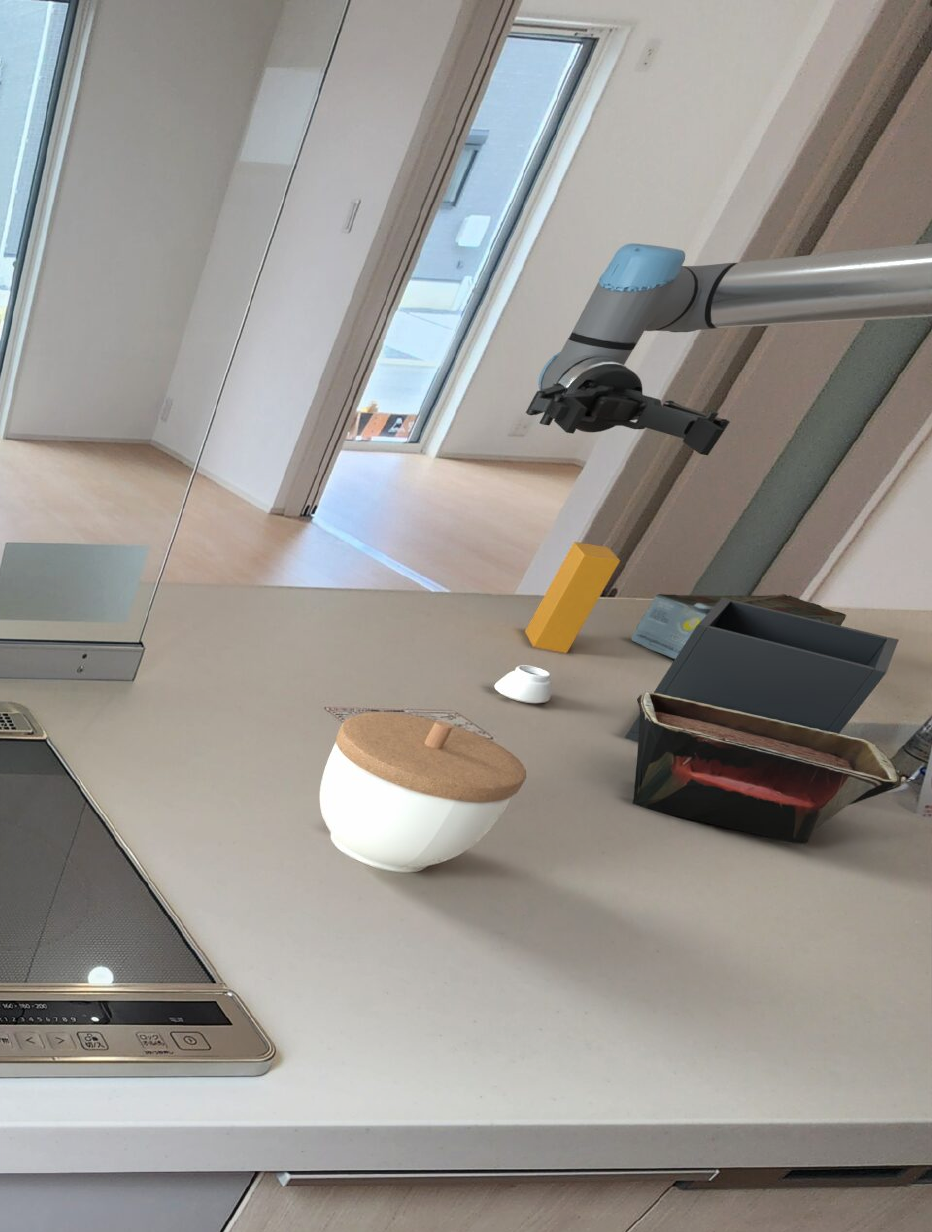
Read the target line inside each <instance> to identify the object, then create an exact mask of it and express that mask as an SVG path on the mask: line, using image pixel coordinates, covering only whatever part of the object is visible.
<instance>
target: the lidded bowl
mask: <svg viewBox="0 0 932 1232" xmlns="http://www.w3.org/2000/svg"><path fill="white" fill-rule="evenodd" d="M526 779H527V770H526V768H525V766H524V764H523V763H522V761H521V760H520V759H519V758H518V757H517V756H515V755H514V754H513V753H512V752H511V751H509V750H508V749H506V748H505V747H504V746H502V745H500V744H498V743H496V742H494V741H493V740H491V739H488V738H487V737H484V736H483V735H480V734H478V733H476V732H473V731H470V730H468V729H466V728H462V727H460V726H457V725H454V724H452V723H450V722H447V721H445V720H436V719H432V718H428V717H422V716H418V715H411V714H405V713H397V712H367V713H359V714H356V715H354V716H353V715H352V716H351V717H348V718H347V719H346V720H344V721H343V723H341V724H340V727H339V729H338V731H337V733H336V737H335V743H334V745H333V746H332V748H331V751H330V753H329V756H328V758H327V760H326V764H325V766H324V771H323V773H322V777H321V780H320V781H321V782H320V786H319V808H320V812H321V813H320V814H321V816H322V818H323V821H324V823H325V825H326V827H327V829H328V831H329V833H330V840H331V842H332V844H333V845H334V846H335V848H337V849H338V850H339V851H340V852H342V853H343V854H345V855H346V856H348V857H350V858H351V859H353V860H355V861H357V862H359V863H361V864H364V865H367V866H369V867H372V868H375V869H378V870H381V871H386V872H392V873H405V874H410V873H417V872H421V871H423V870H425V869H426V868H427V867H429V866H434V865H438V864H441V863H444V862H447V861H449V860H451V859H454V858H456V857H458V856H460V855H461V854H464V853H465V852H466V851H467V850H469V849H470V848H472V847H473V846H474V845H476V844H477V843H478V842H479V841H480V840H481V839H482V838H484V836H485V835H486V834H487V833H488V832H489V831H490V830H491V829H492V827H494V826H495V824H496V822H497V821H498V820H499V819H500V818H501V816H502V814H503V813H504V811H505V810H506V808H507V807H508V805H509V803H510V802H511V800H512V798H513V797H514V796H515V795H516V794H518V792H519V791H520V789H521V788H522V786H523V784H524V782H525V781H526Z"/></svg>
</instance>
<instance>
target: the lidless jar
mask: <svg viewBox="0 0 932 1232" xmlns="http://www.w3.org/2000/svg"><path fill="white" fill-rule="evenodd" d="M550 677H551V673H550V672H549V671H548V670H545V669H544V668H540V667H538V666H533V665H529V664H527V665H526V664H520V665H518V666H517V667H515V670H511V671H509V672H508V673H507V674H505V675H504V676H503V677H502V678H501V679H499V680H498V681H496V682H495V684H494V689H495V691H497V692H498V693H499V694H500V695H502V696H503V697H505V698H508V699H510V700H513V701H515V702H516V701H517V702H519V703H525V704H543V703H547V702H548V701H550V698H551V696H552V694H551V691H552V690H551V689H552V688H551V686H552V685H551V681H550V680H549V679H550Z"/></svg>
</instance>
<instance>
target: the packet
mask: <svg viewBox="0 0 932 1232" xmlns="http://www.w3.org/2000/svg"><path fill="white" fill-rule="evenodd" d="M620 562H621V560H620V559H619V558H618V556H617V555H616V554H615V553H614V552H613V550H611V548H609V547H608V546H603V545H596V544H591V543H584V542H577V541H574V542H573V543H572V545H571V547H570V549H569V550H568V552H567V554H566V556H565V557H564V560H563V561H562V563H561V565H560V566H559V569H558V571H557V573H556V574H555V576H554V577H553V580H552V581H551V583H550V585H549V586H548V588H547V590H546V592H545V594H544V595H543V598H542V599H541V602H540V603H539V605H538V607H537V609H536V610H535V612H534V614H533V616H532V618H531V620H530V622H529V623H528V625H527V627H526V629H525V630H524V633H525V635H526V636H527V638H528V640H529V642H530V643H531V646H532V647H533V648H537V649H542V650H548V651H552V652H553V651H554V652H559V653H564V654H567V653H568V652H569V651H570V648H571V647H572V645H573V644H574V641H575V640H576V638H577V637H578V635H579V633H580V632H581V629H582V628H583V626H584V624H585V623H586V621H587V619H588V617H589V616H590V614H591V613H592V610H593V608H594V607H595V605H596V603H597V602H598V599H599V598H600V597H601V595H602V593H603V592H604V589H605V588H606V586H607V584H608V583H609V581H610V580H611V578H612V576H613V574H614V572H615V571H616V569H617V568H618V566H619V564H620Z"/></svg>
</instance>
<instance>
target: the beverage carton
mask: <svg viewBox="0 0 932 1232" xmlns="http://www.w3.org/2000/svg"><path fill="white" fill-rule="evenodd" d="M722 598H726V599H730V600H735V601H739V602H743V603H747V604H751V605H756V606H760V607H764V608H768V609H772V610H776V611H781V612H785V613H789V614H793V615H797V616H802V617H806V618H810V619H814V620H818V621H823V622H827V623H831V624H835V625H839V626H842V624H843V622H844V621H845V620H846V618H847V614H845V613H843V612H840V611H836V610H832V609H829V608H826V607H823V606H822V605H820V604H817V603H814V602H809V601H807V600H804V599H801V598H798V597H795V596H792V595H787V594H784V593H781V594H777V595H776V594H774V595H773V594H770V595H733V594H732V595H710V594H709V595H708V594H707V595H706V594H705V595H703V594H700V595H699V594H697V595H696V594H674V593H673V594H666V593H665V594H663V593H659V594H656V595H655V596H654V598H653V600H652V601H651V603H650V605H649V606H648V608H647V610H646V611H645V613H644V615H642V617H641V619H640V622H638V624H637V626H636V628H635V630H634V633H633V635H632V637H631V641H632V642H633V643H635V644H638V645H640V646H642V647H644V648H646V649H648V650H650V651H653V652H656V653H659V654H661V655H664V656H666V657H669V658H670V659H673V660H675V659H676V657H677V655H678V654H679V652H680V651H681V649H682V648H683V646H684V645H685V643H686V642H687V640H688V638H689V637H690V635H691V634H692V632H693V631H694V629H695V628H696V626H697V625H698V624H699V623H700V622H701V620H702V619H703V618H704V617H705V616H706V615H707V614H708V613H709V612H710V611H711V610H712V609H713V607H714V606H715V605H716V604H717V603H718V602H719V601H720V600H721V599H722Z"/></svg>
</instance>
